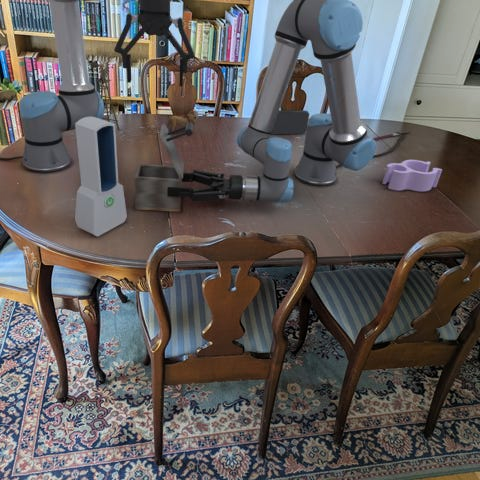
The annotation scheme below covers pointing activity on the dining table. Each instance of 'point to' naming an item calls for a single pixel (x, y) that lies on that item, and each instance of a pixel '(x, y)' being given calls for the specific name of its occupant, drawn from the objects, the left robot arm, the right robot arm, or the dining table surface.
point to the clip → (411, 176)
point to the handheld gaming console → (291, 122)
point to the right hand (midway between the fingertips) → (168, 183)
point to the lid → (171, 147)
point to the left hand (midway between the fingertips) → (155, 83)
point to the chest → (156, 188)
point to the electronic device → (98, 177)
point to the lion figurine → (182, 120)
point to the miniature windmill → (102, 81)
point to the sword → (389, 135)
